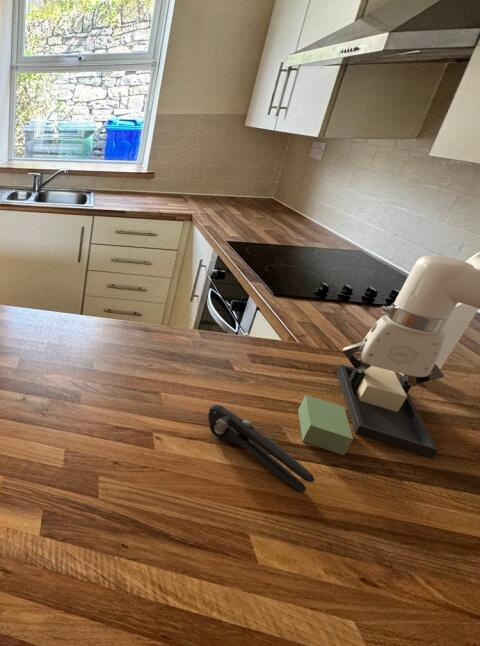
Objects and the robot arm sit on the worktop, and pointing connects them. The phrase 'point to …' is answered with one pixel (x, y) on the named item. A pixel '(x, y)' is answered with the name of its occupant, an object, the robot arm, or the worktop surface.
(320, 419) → the pad
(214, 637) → the worktop surface
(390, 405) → the pad
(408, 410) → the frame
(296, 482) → the can opener
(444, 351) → the milk
